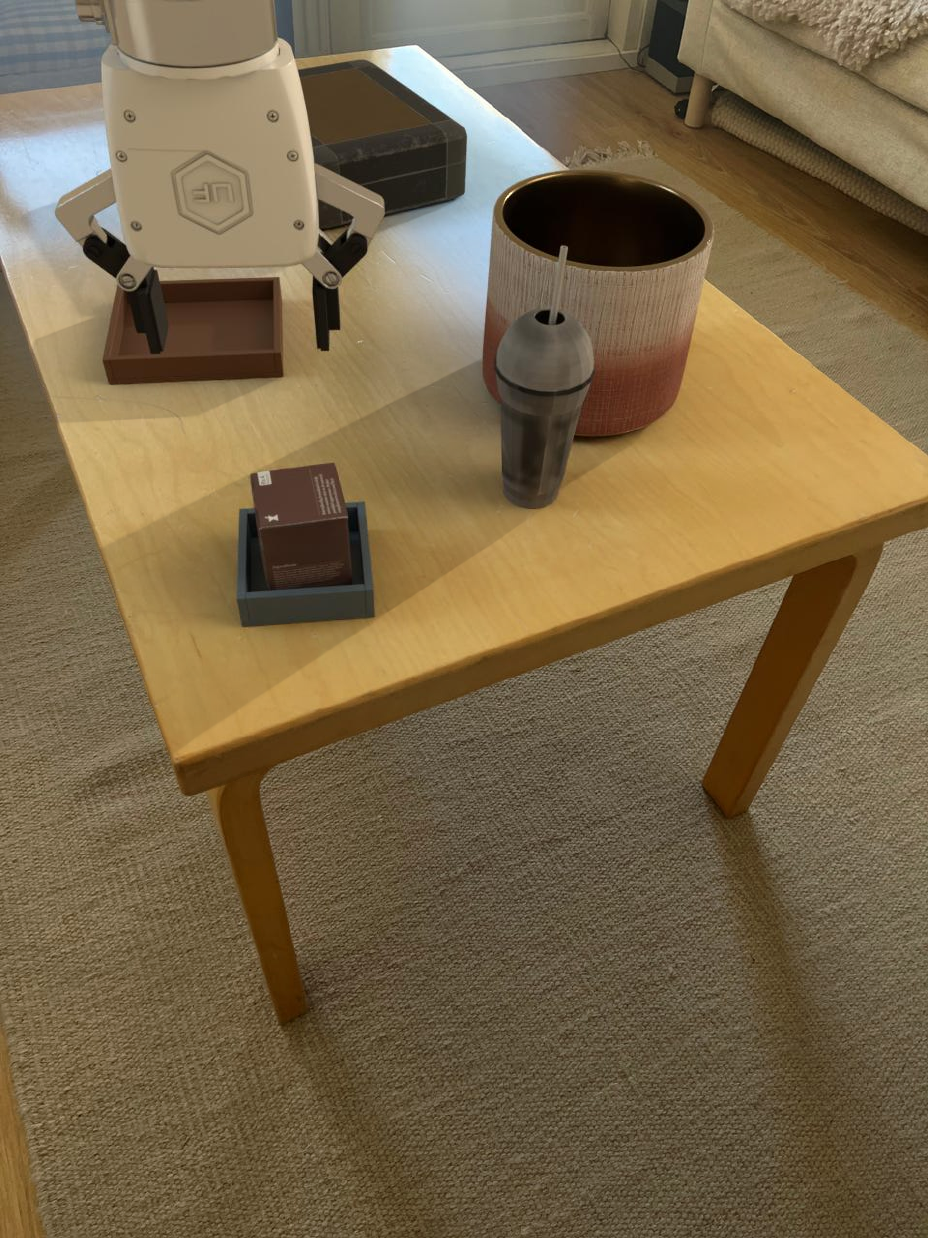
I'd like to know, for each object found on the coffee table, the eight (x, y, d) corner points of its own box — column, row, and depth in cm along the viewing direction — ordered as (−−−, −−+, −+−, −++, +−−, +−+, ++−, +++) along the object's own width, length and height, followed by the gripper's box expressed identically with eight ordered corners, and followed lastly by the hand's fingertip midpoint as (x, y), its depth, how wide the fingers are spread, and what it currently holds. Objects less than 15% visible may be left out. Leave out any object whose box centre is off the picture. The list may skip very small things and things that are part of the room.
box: (354, 595, 70) (349, 517, 65) (269, 607, 69) (256, 529, 64) (341, 537, 74) (336, 460, 69) (260, 548, 73) (248, 470, 68)
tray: (108, 384, 87) (102, 359, 85) (123, 305, 96) (117, 281, 94) (283, 376, 89) (280, 352, 87) (282, 300, 98) (279, 276, 96)
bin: (241, 626, 69) (236, 599, 66) (243, 536, 75) (238, 508, 73) (375, 617, 70) (373, 589, 68) (366, 528, 76) (364, 501, 74)
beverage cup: (469, 500, 78) (482, 263, 64) (509, 450, 83) (530, 218, 68) (553, 531, 76) (586, 293, 61) (589, 479, 81) (629, 245, 66)
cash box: (221, 149, 121) (212, 80, 115) (370, 120, 128) (367, 54, 123) (309, 236, 107) (303, 163, 101) (470, 198, 114) (473, 128, 108)
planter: (697, 358, 93) (737, 192, 82) (649, 467, 82) (687, 293, 70) (520, 315, 97) (534, 151, 86) (450, 413, 86) (456, 239, 74)
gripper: (-16, 44, 43) (82, 379, 56) (382, 47, 45) (390, 373, 57) (21, -10, 48) (103, 308, 61) (377, -5, 50) (385, 305, 62)
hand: (242, 339), depth 59 cm, fingers open, 9 cm apart
